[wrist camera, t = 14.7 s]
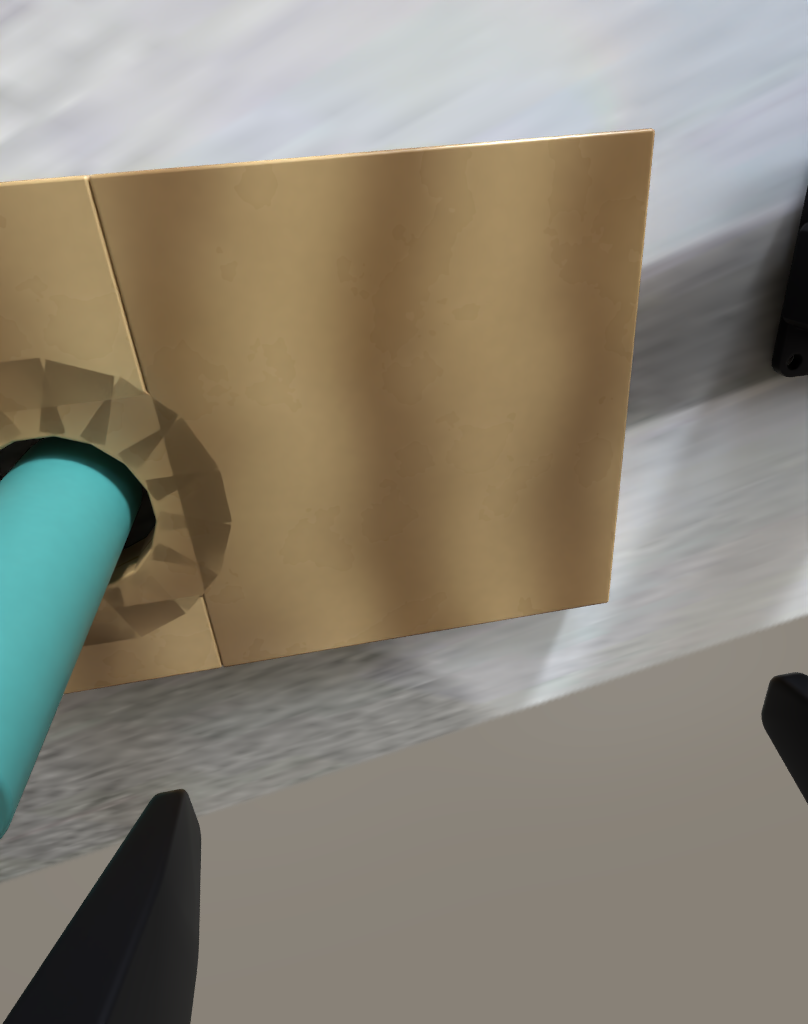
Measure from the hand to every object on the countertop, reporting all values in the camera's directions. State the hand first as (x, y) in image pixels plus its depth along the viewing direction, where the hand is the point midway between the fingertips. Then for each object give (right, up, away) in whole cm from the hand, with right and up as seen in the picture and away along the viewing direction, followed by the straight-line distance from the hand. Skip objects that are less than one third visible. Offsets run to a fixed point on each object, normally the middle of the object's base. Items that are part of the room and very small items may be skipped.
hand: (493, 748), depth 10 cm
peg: (-11, +4, +9) cm, 15 cm away
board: (-5, +6, +10) cm, 12 cm away
